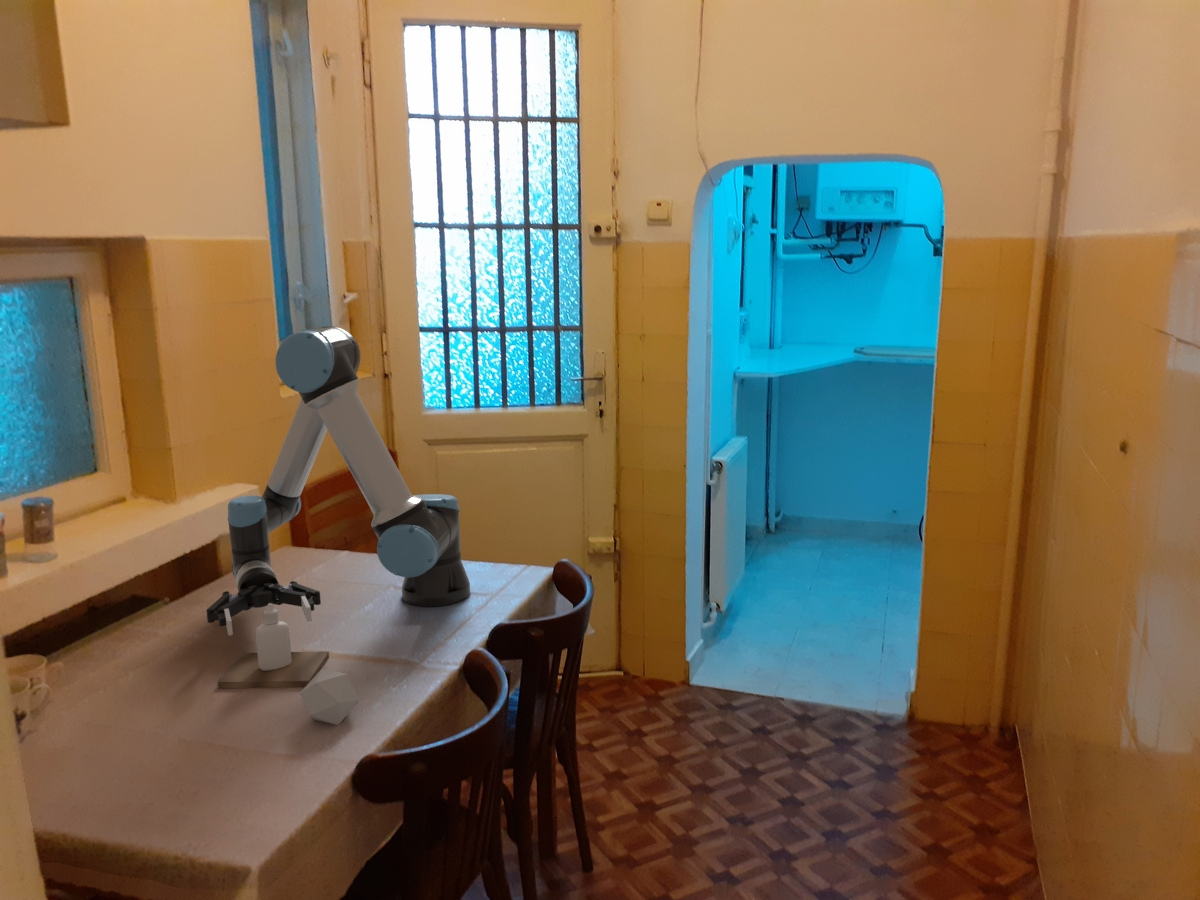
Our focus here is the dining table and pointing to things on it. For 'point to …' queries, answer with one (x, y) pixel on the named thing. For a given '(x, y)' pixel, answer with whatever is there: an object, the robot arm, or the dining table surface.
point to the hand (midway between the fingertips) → (270, 621)
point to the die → (329, 696)
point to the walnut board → (274, 671)
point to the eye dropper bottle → (273, 642)
